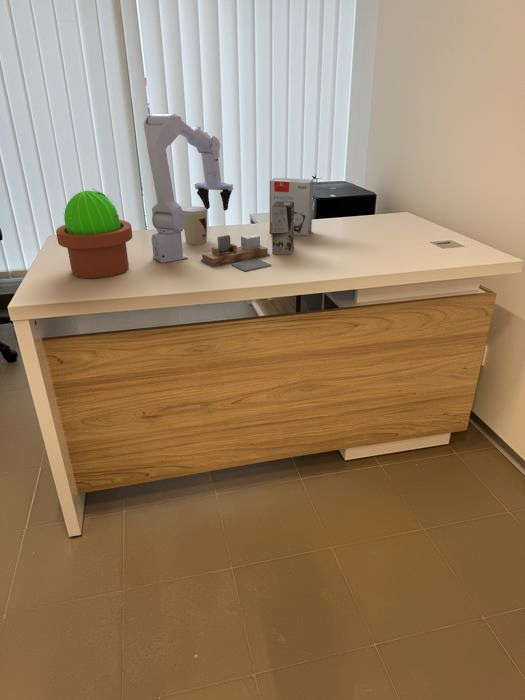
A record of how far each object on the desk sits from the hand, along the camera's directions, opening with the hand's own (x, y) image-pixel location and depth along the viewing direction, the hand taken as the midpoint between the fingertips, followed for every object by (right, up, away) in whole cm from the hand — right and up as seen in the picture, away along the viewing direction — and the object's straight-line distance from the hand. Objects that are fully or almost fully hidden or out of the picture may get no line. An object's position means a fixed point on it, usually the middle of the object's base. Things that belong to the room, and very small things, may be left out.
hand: (216, 209), depth 192 cm
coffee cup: (-8, -12, +1) cm, 14 cm away
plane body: (+8, -22, -19) cm, 30 cm away
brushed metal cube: (+13, -18, -18) cm, 28 cm away
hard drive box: (+28, -7, +10) cm, 31 cm away
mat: (+13, -25, -27) cm, 39 cm away
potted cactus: (-34, -27, -28) cm, 52 cm away
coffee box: (+24, -18, -12) cm, 32 cm away
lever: (+5, -20, -23) cm, 30 cm away
